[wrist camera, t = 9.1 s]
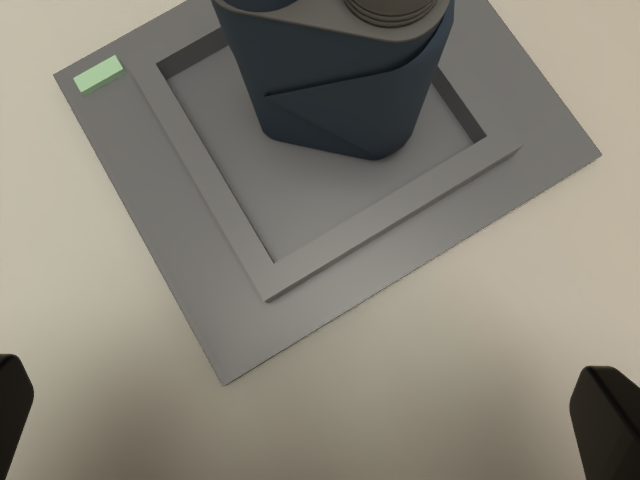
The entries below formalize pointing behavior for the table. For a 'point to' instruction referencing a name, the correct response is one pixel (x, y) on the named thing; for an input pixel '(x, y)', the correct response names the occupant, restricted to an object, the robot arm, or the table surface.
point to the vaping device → (337, 68)
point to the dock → (307, 175)
